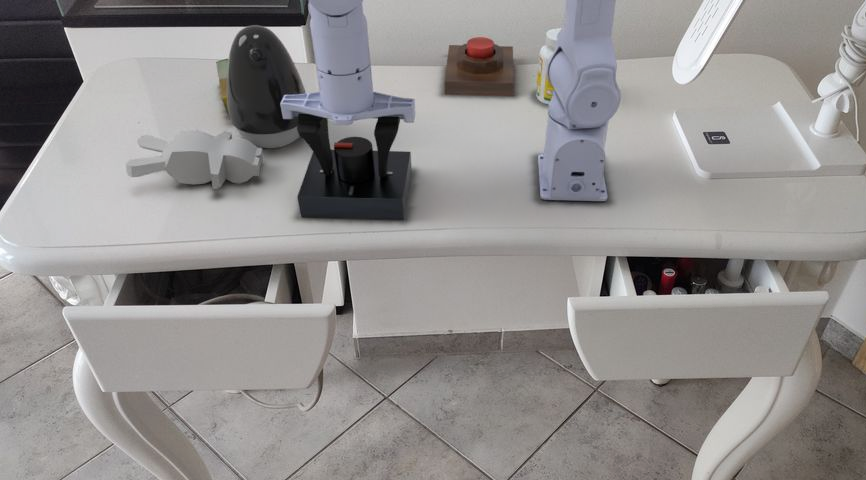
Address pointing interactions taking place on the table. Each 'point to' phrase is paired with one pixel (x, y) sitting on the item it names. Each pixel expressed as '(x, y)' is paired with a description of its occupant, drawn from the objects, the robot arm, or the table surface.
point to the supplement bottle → (543, 85)
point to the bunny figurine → (199, 158)
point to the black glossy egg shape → (261, 87)
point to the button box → (479, 72)
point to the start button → (480, 48)
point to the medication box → (223, 80)
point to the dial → (354, 159)
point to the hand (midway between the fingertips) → (356, 171)
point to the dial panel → (357, 191)
